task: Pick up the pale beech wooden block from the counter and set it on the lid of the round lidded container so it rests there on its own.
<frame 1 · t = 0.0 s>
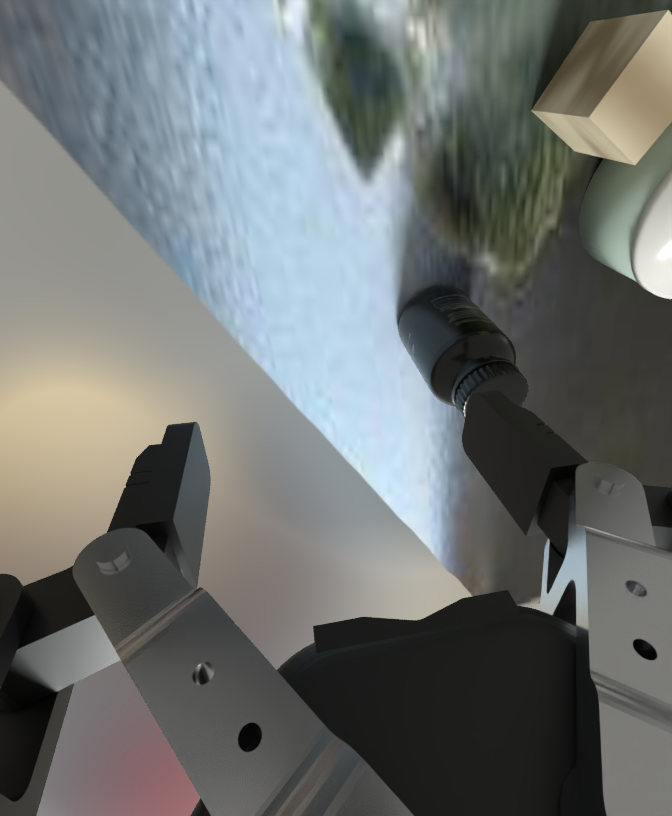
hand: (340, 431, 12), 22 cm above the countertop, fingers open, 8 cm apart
round lidded container: (650, 190, 32), on the countertop
supplement bottle: (431, 318, 36), on the countertop
beech block: (581, 92, 27), on the countertop
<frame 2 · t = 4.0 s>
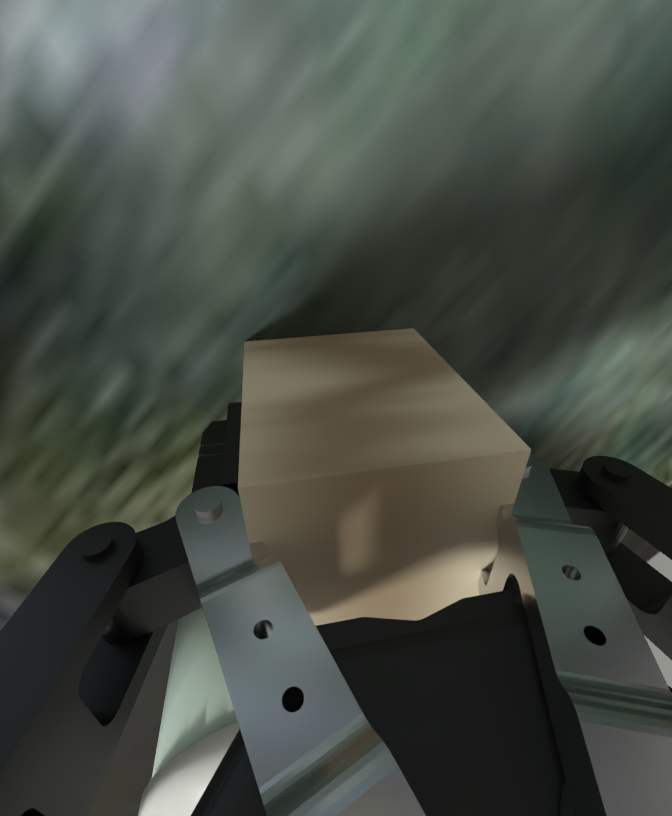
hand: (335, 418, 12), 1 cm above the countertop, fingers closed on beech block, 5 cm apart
round lidded container: (315, 605, 19), on the countertop
beech block: (333, 407, 13), on the countertop, touching gripper
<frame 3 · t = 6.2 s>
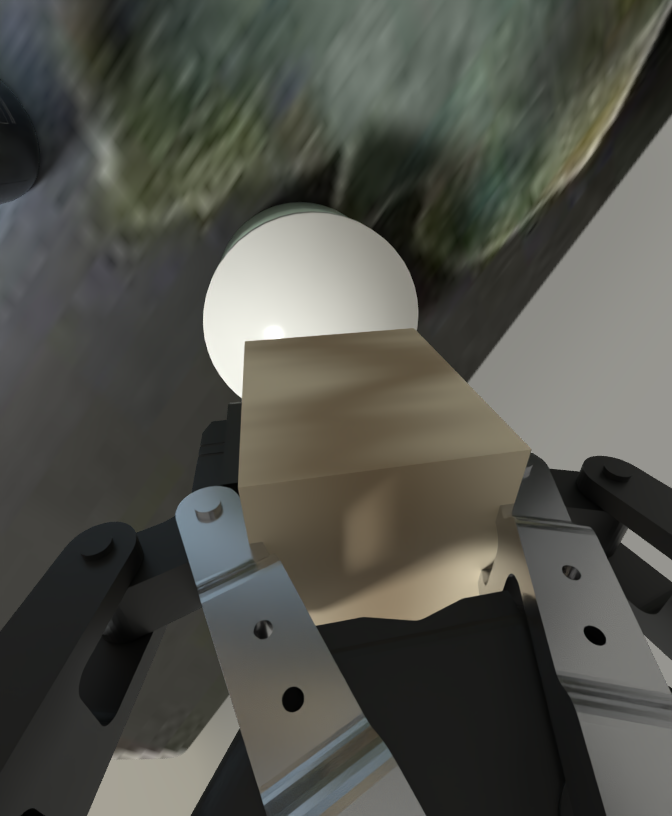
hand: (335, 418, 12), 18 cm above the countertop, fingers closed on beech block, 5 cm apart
round lidded container: (302, 294, 29), on the countertop
beech block: (333, 407, 13), point 18 cm above the countertop, touching gripper
when the fingers open (9 cm above the countertop, at t = 8.8 s): beech block drops 2 cm, resting on round lidded container.
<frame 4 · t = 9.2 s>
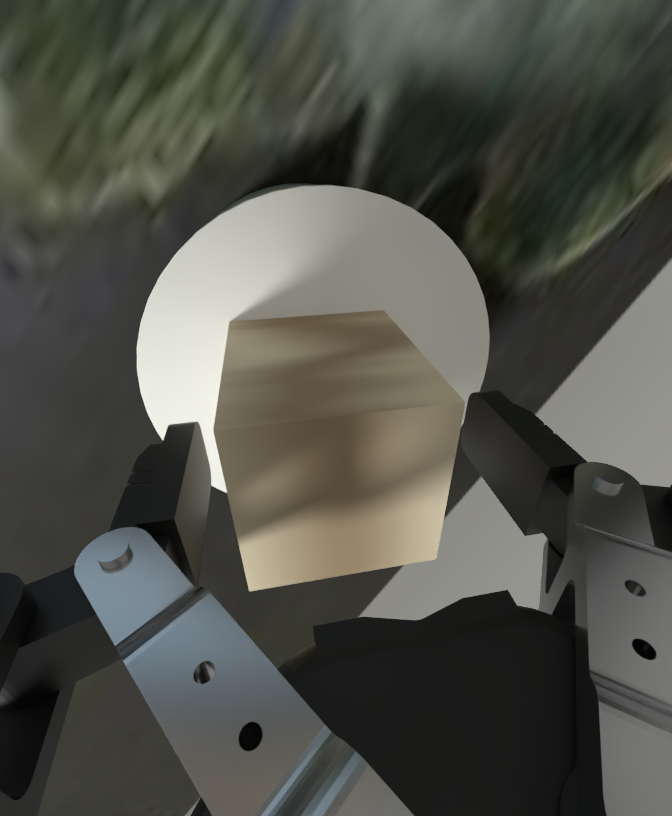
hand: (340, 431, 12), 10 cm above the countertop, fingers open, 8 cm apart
round lidded container: (304, 319, 20), on the countertop, touching beech block
beech block: (312, 383, 14), point 7 cm above the countertop, touching round lidded container
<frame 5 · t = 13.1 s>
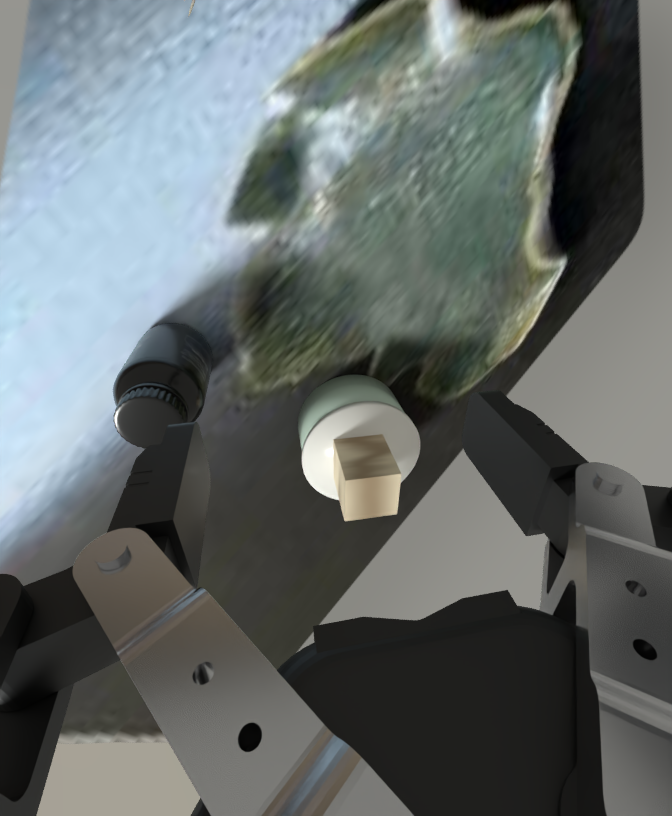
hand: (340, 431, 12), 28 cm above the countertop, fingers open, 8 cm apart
round lidded container: (348, 419, 46), on the countertop, touching beech block
supplement bottle: (177, 354, 39), on the countertop
beech block: (357, 456, 40), point 7 cm above the countertop, touching round lidded container
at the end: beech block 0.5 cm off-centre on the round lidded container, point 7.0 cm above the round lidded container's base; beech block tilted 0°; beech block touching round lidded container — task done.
